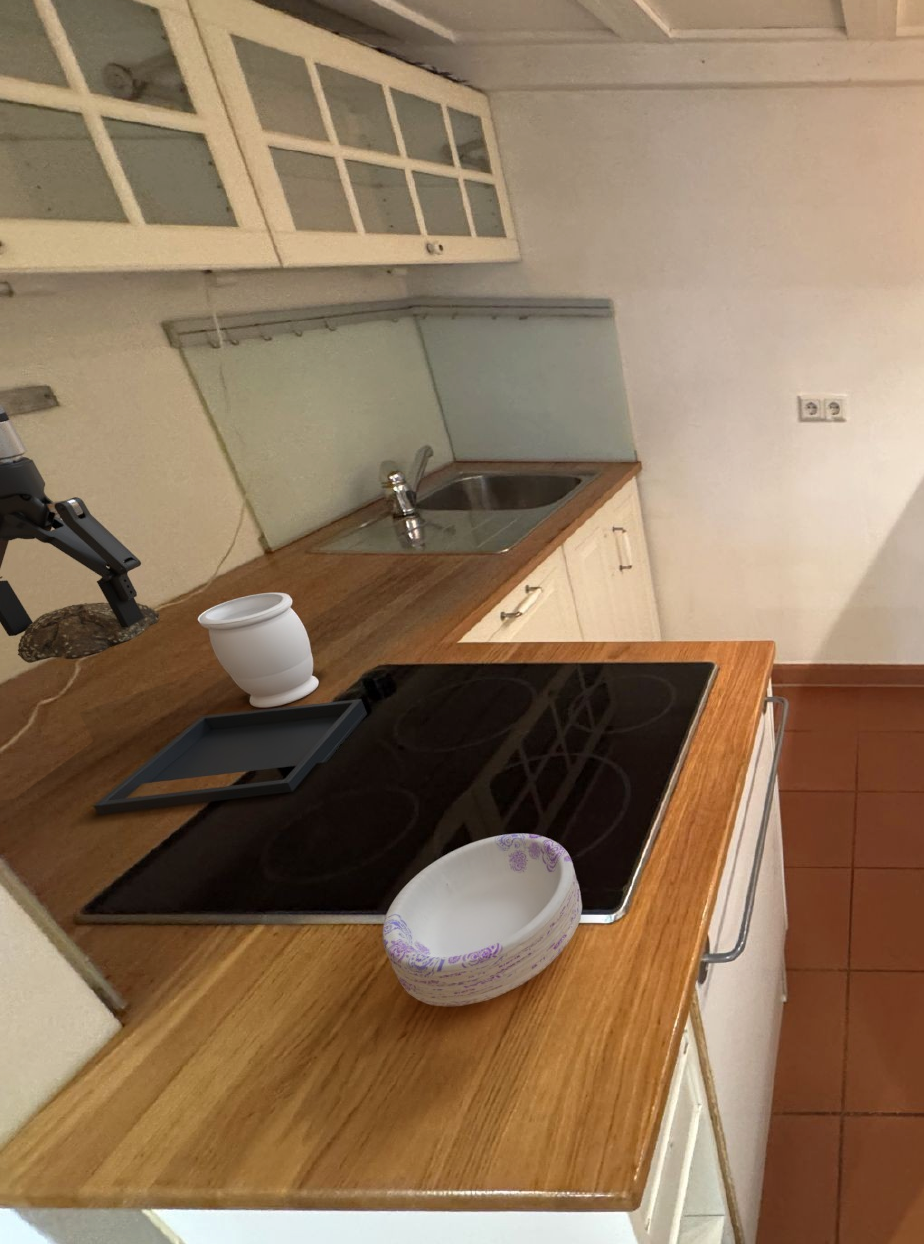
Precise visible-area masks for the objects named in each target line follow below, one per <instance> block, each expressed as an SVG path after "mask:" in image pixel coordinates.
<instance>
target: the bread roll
mask: <svg viewBox="0 0 924 1244" xmlns="http://www.w3.org/2000/svg"><path fill="white" fill-rule="evenodd" d="M136 603H137V605H138V606H139V608H140V610H141V612H142V614H143V616H144V618H143V619H141V620H140V621H138V622H136V623H134V624H133V625H131V626H129V627H121V625H120V623H119V621H118V620H117V618H116V616H115V614H114V612H113V610H112V609H111V607H110V605H109V603H108V602H87V603H86V602H85V603H79V604H71V605H68V606H65V607H61V608H58V609H57V608H55V609H54V610H51V611H49V612H45V613H43V614H41V615H39V617H37V618H36V619H35V620H34V621H32V622H33V624H30V625H29V626H28V628H27V629H26V631H24V632H23V635H21V636H20V639H19V643H18V646H17V647H18V648H17V651H18V653H17V655H18V657H20V658H21V659H22V660H23V661H24V662H25V663H28V664H32V663H36V662H39V661H43V660H47V659H51V658H62V659H65V660H76V659H83V658H87V657H90V656H94V655H97V654H100V653H104V652H105V651H107V650H108V649H110V648H112V647H115V646H119V645H121V644H124V643H127V642H130V641H131V640H133V639H135V638H137V637H138V636H140V635H141V634H143V633H145V632H146V630H148V628H149V627H151V626H153V625H155V624H157V623H158V622H159V621H160V619H159V618H160V613H159V612H158V611H156V610H155V609H154V608H152V607H149V606H148V605H147V604H142V603H139V602H136Z"/></svg>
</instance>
